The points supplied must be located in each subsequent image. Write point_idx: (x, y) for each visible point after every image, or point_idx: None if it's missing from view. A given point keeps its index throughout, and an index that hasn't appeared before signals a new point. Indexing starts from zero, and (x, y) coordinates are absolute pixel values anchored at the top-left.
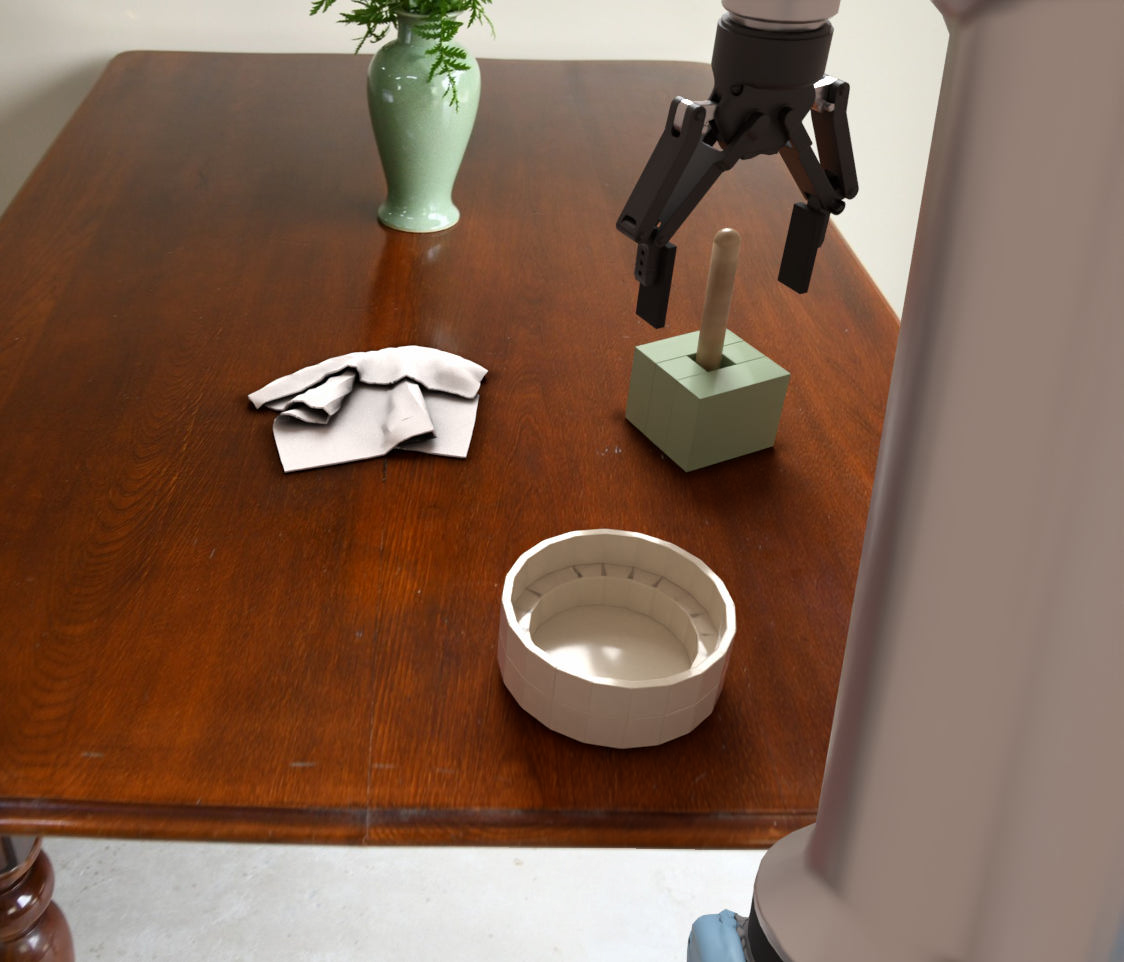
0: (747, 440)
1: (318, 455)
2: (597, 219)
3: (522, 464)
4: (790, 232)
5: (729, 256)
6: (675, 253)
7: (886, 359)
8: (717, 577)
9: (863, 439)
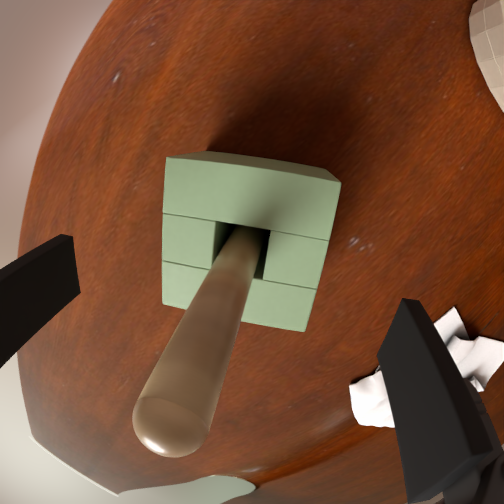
0: (242, 156)
1: (496, 351)
2: (130, 437)
3: (432, 275)
4: (18, 341)
5: (192, 382)
6: (468, 436)
7: (38, 210)
8: (501, 5)
9: (122, 118)
